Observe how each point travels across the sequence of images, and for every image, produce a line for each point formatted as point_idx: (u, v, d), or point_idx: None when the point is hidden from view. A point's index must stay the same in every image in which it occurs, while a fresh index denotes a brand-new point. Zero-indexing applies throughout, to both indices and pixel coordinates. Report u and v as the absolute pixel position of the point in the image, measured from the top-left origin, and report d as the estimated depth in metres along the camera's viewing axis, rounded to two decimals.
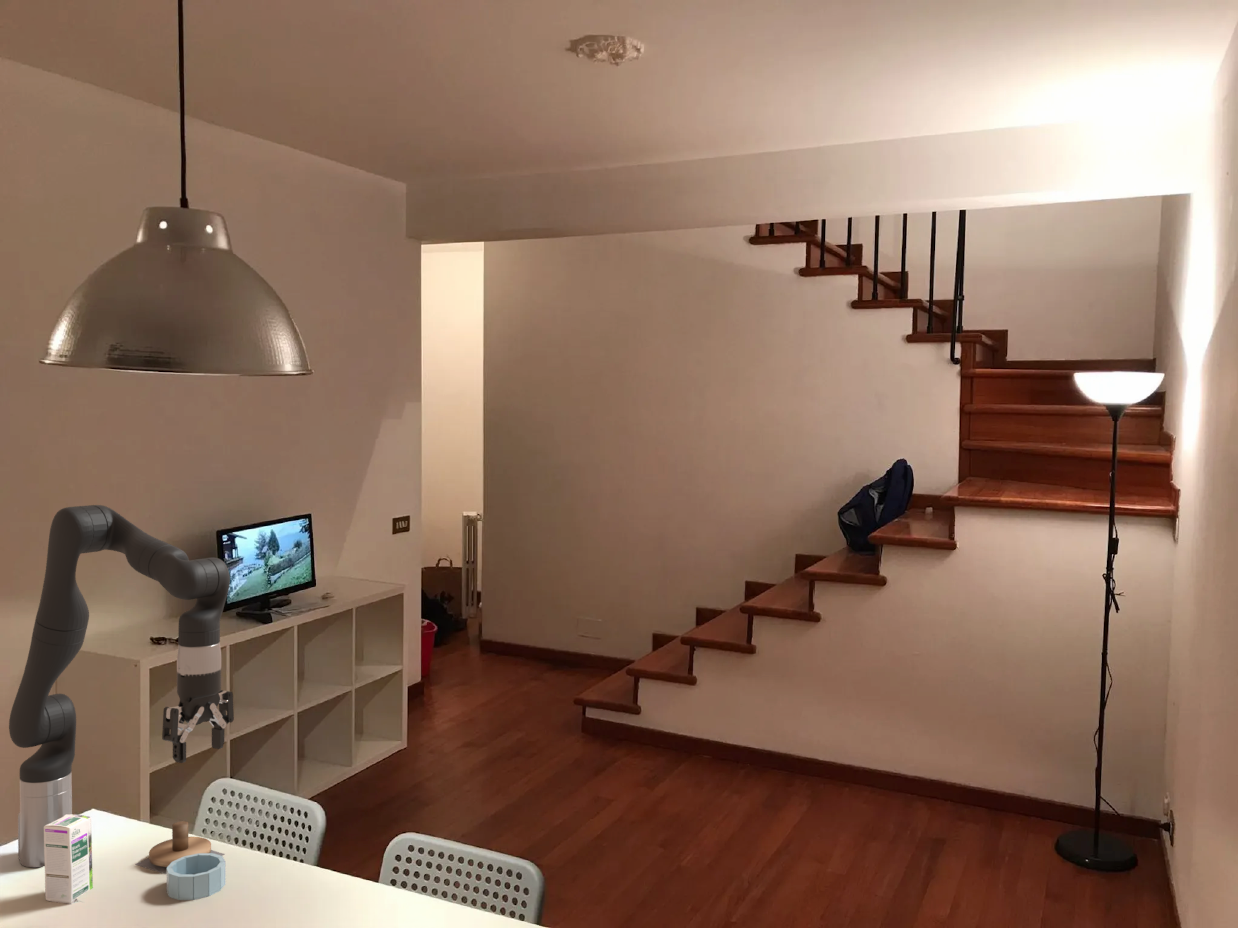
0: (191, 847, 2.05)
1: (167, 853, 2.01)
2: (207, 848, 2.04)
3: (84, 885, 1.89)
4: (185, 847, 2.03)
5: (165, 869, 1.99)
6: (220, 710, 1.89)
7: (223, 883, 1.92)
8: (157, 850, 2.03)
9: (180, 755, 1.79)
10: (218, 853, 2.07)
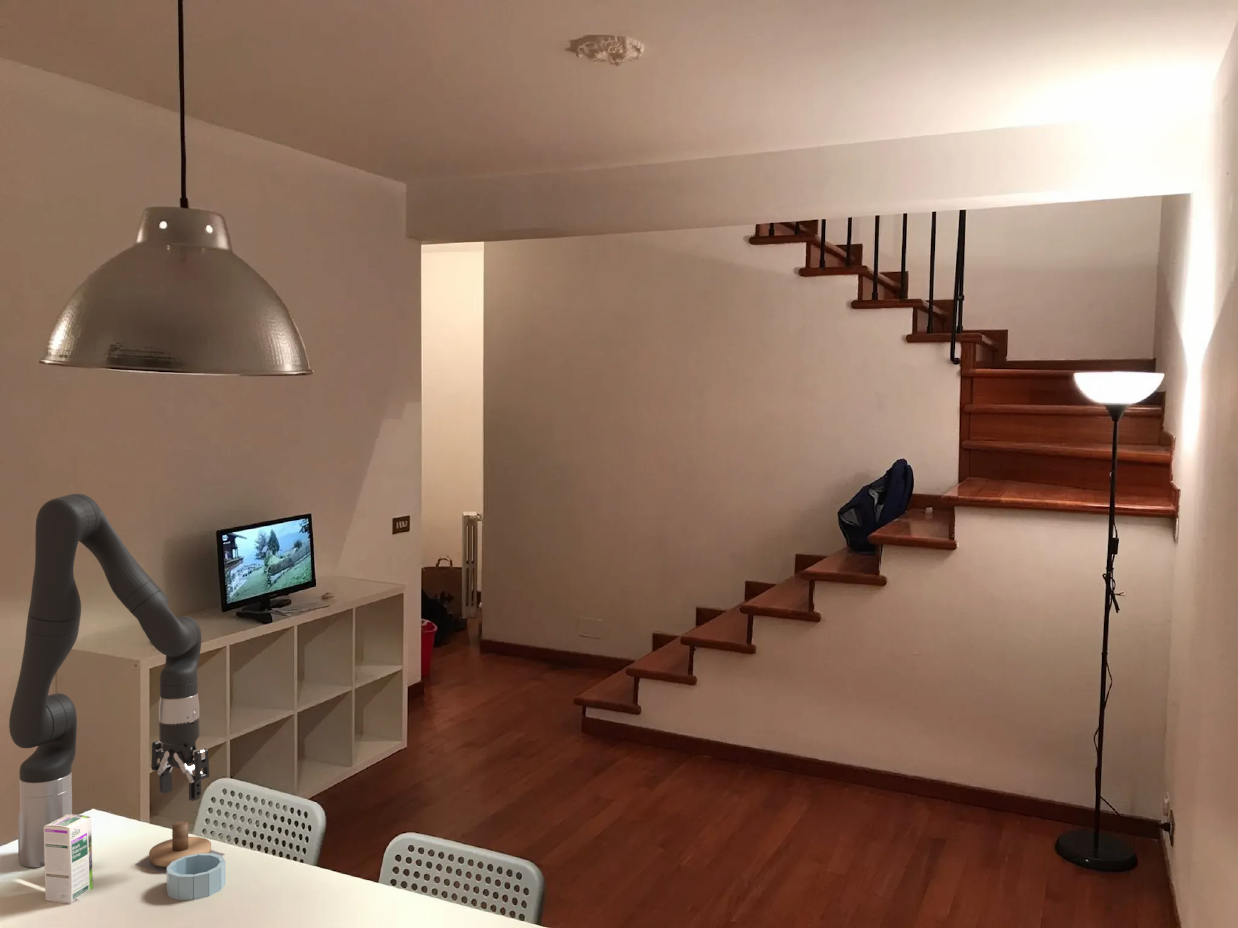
0: (191, 847, 2.05)
1: (167, 853, 2.01)
2: (207, 848, 2.04)
3: (84, 885, 1.89)
4: (185, 847, 2.03)
5: (165, 869, 1.99)
6: (156, 760, 2.05)
7: (223, 883, 1.92)
8: (157, 850, 2.03)
9: None
10: (218, 853, 2.07)
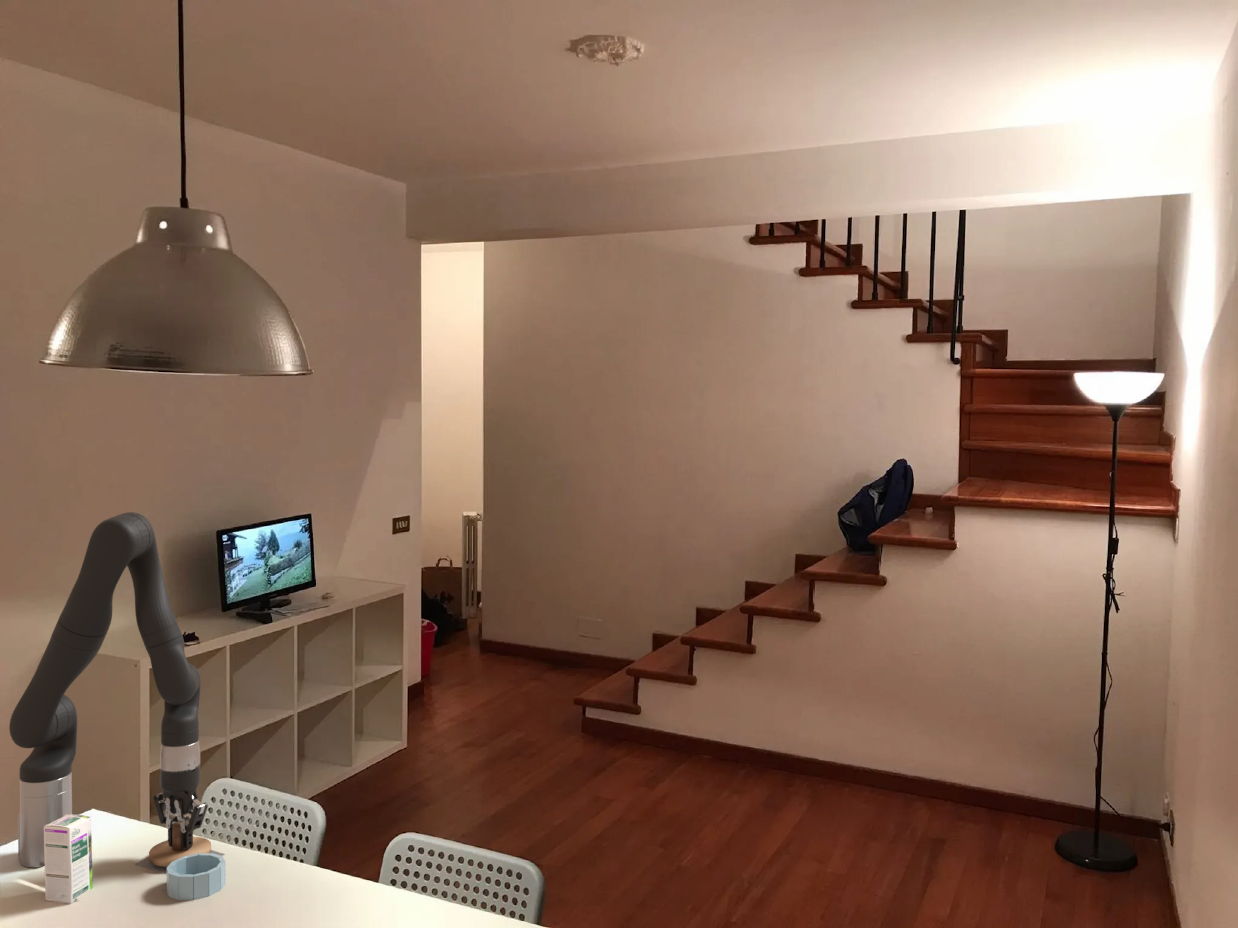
0: (191, 847, 2.05)
1: (167, 853, 2.01)
2: (207, 848, 2.04)
3: (84, 885, 1.89)
4: None
5: (165, 869, 1.99)
6: (162, 812, 2.05)
7: (223, 883, 1.92)
8: (157, 850, 2.03)
9: None
10: (218, 853, 2.07)
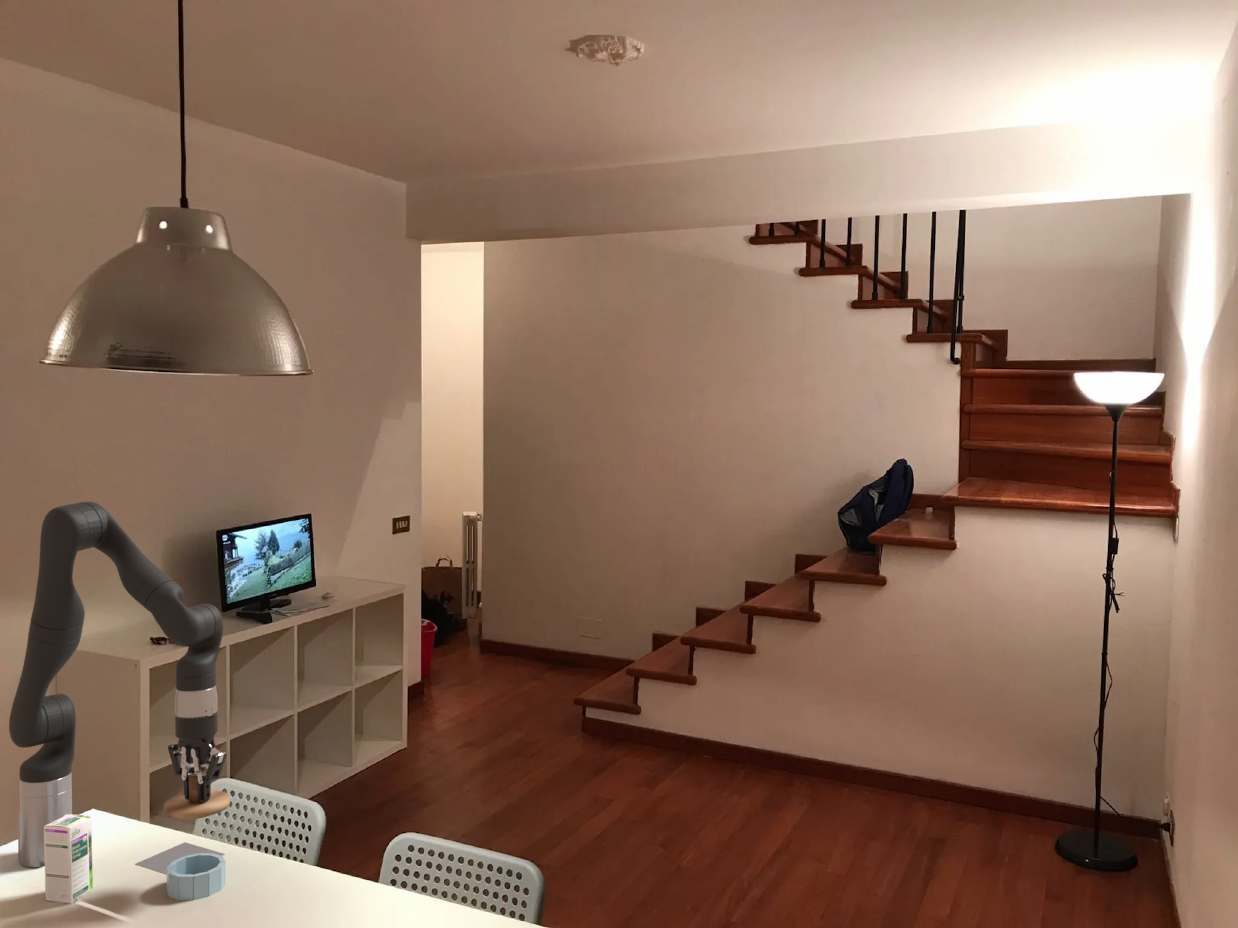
0: None
1: (184, 805, 1.89)
2: (226, 800, 1.92)
3: (84, 885, 1.89)
4: None
5: (165, 869, 1.99)
6: (177, 763, 1.92)
7: (223, 883, 1.92)
8: (173, 802, 1.90)
9: None
10: (218, 853, 2.07)
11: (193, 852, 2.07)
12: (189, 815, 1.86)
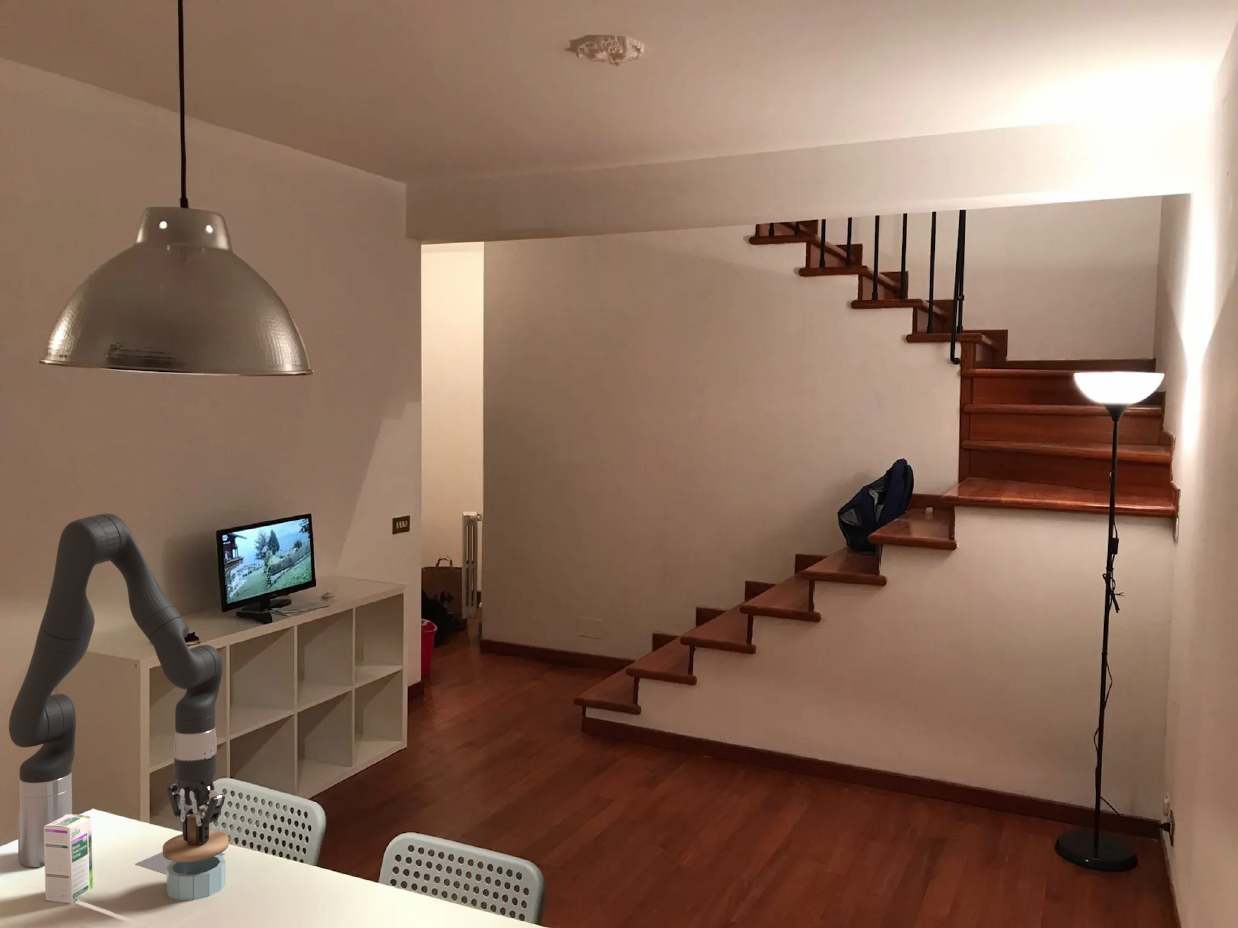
0: (207, 841, 1.92)
1: (182, 847, 1.89)
2: (224, 842, 1.92)
3: (84, 885, 1.89)
4: None
5: (165, 869, 1.99)
6: (176, 804, 1.92)
7: (223, 883, 1.92)
8: (171, 844, 1.90)
9: None
10: None
11: None
12: (187, 858, 1.86)
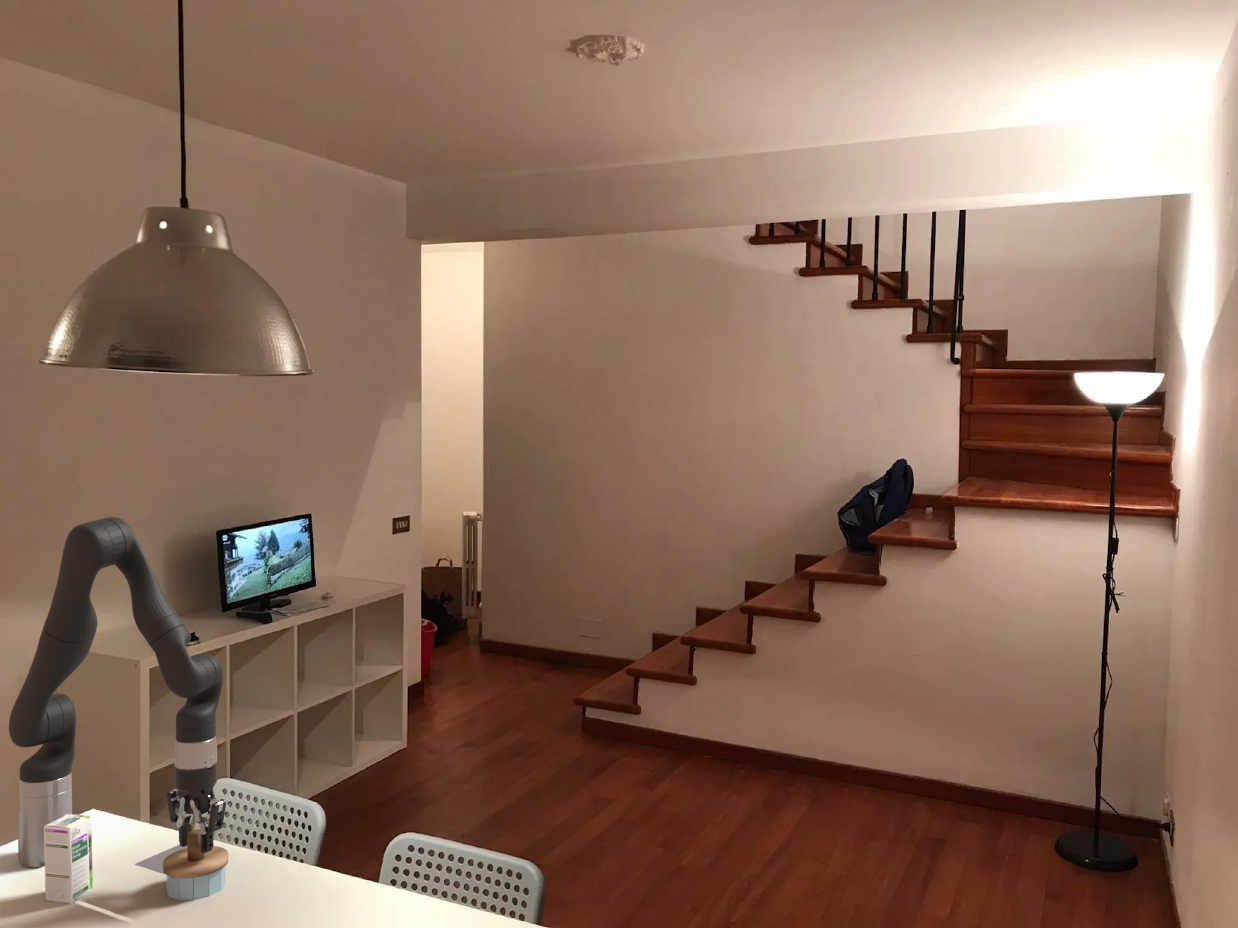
0: (207, 856, 1.92)
1: (182, 863, 1.89)
2: (224, 858, 1.92)
3: (84, 885, 1.89)
4: (201, 857, 1.91)
5: None
6: (174, 810, 1.93)
7: (223, 883, 1.92)
8: (171, 860, 1.91)
9: None
10: None
11: None
12: (187, 874, 1.86)
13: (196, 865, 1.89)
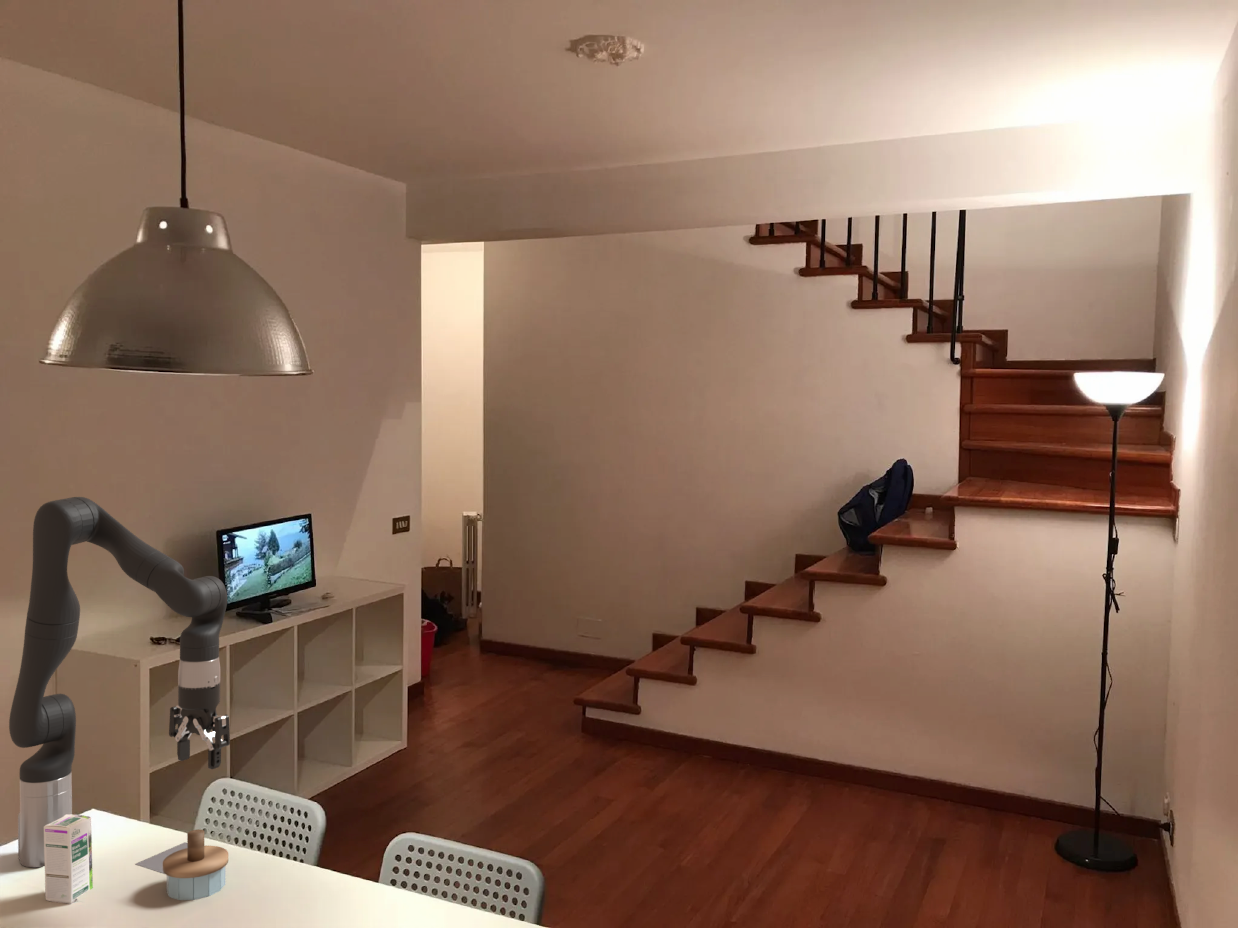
0: (207, 856, 1.92)
1: (182, 863, 1.89)
2: (224, 858, 1.92)
3: (84, 885, 1.89)
4: (201, 857, 1.91)
5: None
6: (174, 726, 1.95)
7: (223, 883, 1.92)
8: (171, 860, 1.91)
9: None
10: None
11: None
12: (187, 874, 1.86)
13: (196, 865, 1.89)
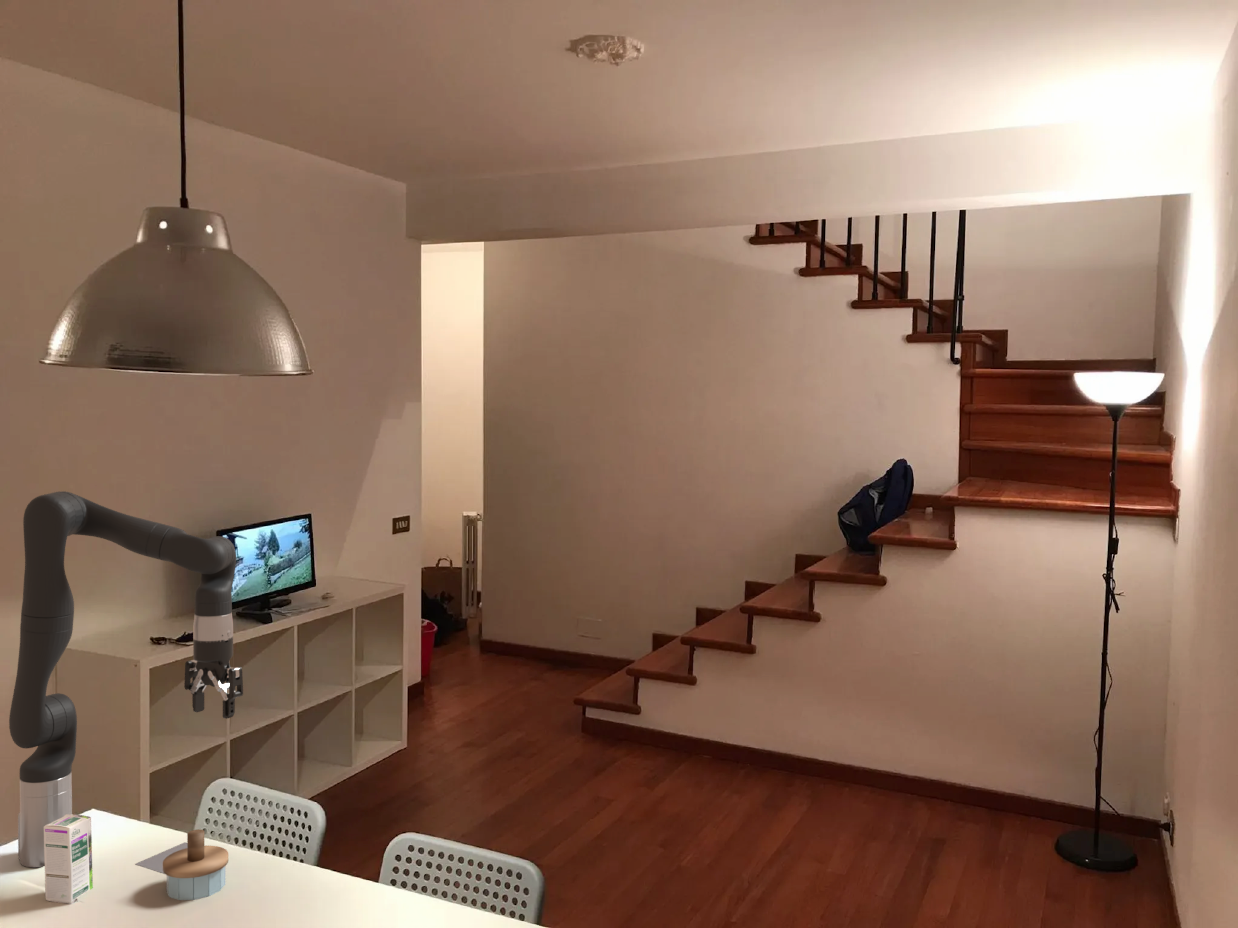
0: (207, 856, 1.92)
1: (182, 863, 1.89)
2: (224, 858, 1.92)
3: (84, 885, 1.89)
4: (201, 857, 1.91)
5: None
6: (189, 679, 2.06)
7: (223, 883, 1.92)
8: (171, 860, 1.91)
9: None
10: None
11: None
12: (187, 874, 1.86)
13: (196, 865, 1.89)
